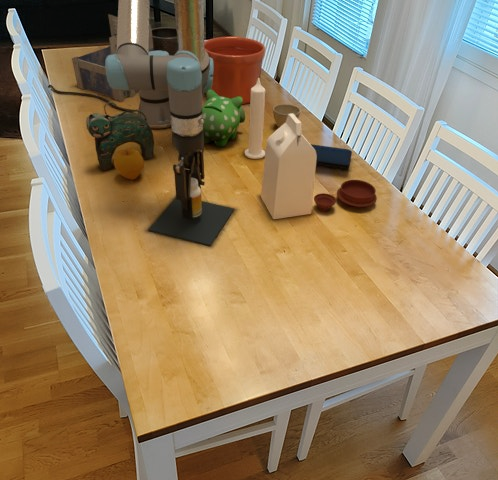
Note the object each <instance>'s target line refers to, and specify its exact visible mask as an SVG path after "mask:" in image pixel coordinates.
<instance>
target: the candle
mask: <svg viewBox="0 0 498 480" xmlns="http://www.w3.org/2000/svg"><path fill="white" fill-rule="evenodd" d="M265 103H266V88H265V87H264V86H263V85H262V84H261V78H258V80H257V84H256V85H255V86H254V87H252V88H251V100H250V104H249V108H250V109H249V129H248V148H246V149H245V150H244V155H245V157H246V158H248V159H251V160H261V159H263V158H265V152H266V150H264V149H263V137H264V123H265V121H264V120H265Z"/></svg>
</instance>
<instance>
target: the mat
mask: <svg viewBox="0 0 498 480" xmlns="http://www.w3.org/2000/svg"><path fill="white" fill-rule="evenodd" d="M234 211H235V208H234V207H230V206H226V205H220V204H217V203H212V202H208V201H202V213H201V215H199V216H198V217H193V219H192V220H190V219H186V218H182V206H181V200H176V196H175V197H174V199H172V201H171V202H170V203H169V205H168V206H167V207H166V208H165V209H163V211H162V213H161V214H160V215H159V216H158V217H157V218H156V220H155V221H154V222H153V223H152V224H151V225H150V227H149V228H148V229H147V231H148V232H150V233H155V234H159V235H163V236H168V237H171V238H175V239H179V240H183V241H188V242H191V243H195V244H199V245H204V246H207V247H211V246H212V245H213V243H214V242H215V240H216V239H217V237H218V236H219V234H220V232H221V231H222V230H223V228H224V227H225V225H226V223H227V222H228V220H229V219H230V217H231V216H232V215H233V212H234Z"/></svg>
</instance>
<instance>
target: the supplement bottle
mask: <svg viewBox="0 0 498 480" xmlns="http://www.w3.org/2000/svg"><path fill="white" fill-rule="evenodd" d="M190 197H191V198H192V213H193V217H198V216H199V215H201V213H202V201H201V200H202V188H201V189H200V187H199V186H198V180H197V179H195V178H191V186H190Z"/></svg>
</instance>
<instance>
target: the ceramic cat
mask: <svg viewBox="0 0 498 480" xmlns="http://www.w3.org/2000/svg"><path fill="white" fill-rule="evenodd" d="M110 103H111V104H113V105H115V106H117V104H116V103H115V102H113V101H110V102H106V103H105V104H104V106H103V109H104V110H103V111H104V114H102V113H99V112H93V113H90V114H89V115H88V116H87V117H86V120H85V124H86V126H85V127H86V129H87V131H88V133H89V134H90V136H91V137H93V138H94V146H95V147H94V148H95V153H96V157H97V162H98V165H99V168H100V169H101V170H102V171H109V170H111V169H112V167H113V166H112V162H113V156H114V154H115V152H116V150H117V148H118V147H121V146H123V145H125V144H127V143H134V144H137V145H139V147H140V152H141V156H142V158H143V159H145V160H150V159H153V158H154V156H155V155H154V151H155V148H154V147H155V140H154V139H155V138H154V133H153V129H151V128H150V127H149V125H148V123H147V122H146V121H147V119H146V117H145V115H144V114H143V113H142V112H141V111H139V110H138V109H130V110H127V111H123V112H119V113H117V114H114V115H112V116H111V115H110V114H107V111H106V106H108V105H110ZM130 111H133V112H130ZM138 112H139V113H141V114H143V115H144V117H145V119H143V118H142V117H141V116H139V115H137V114H138Z"/></svg>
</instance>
